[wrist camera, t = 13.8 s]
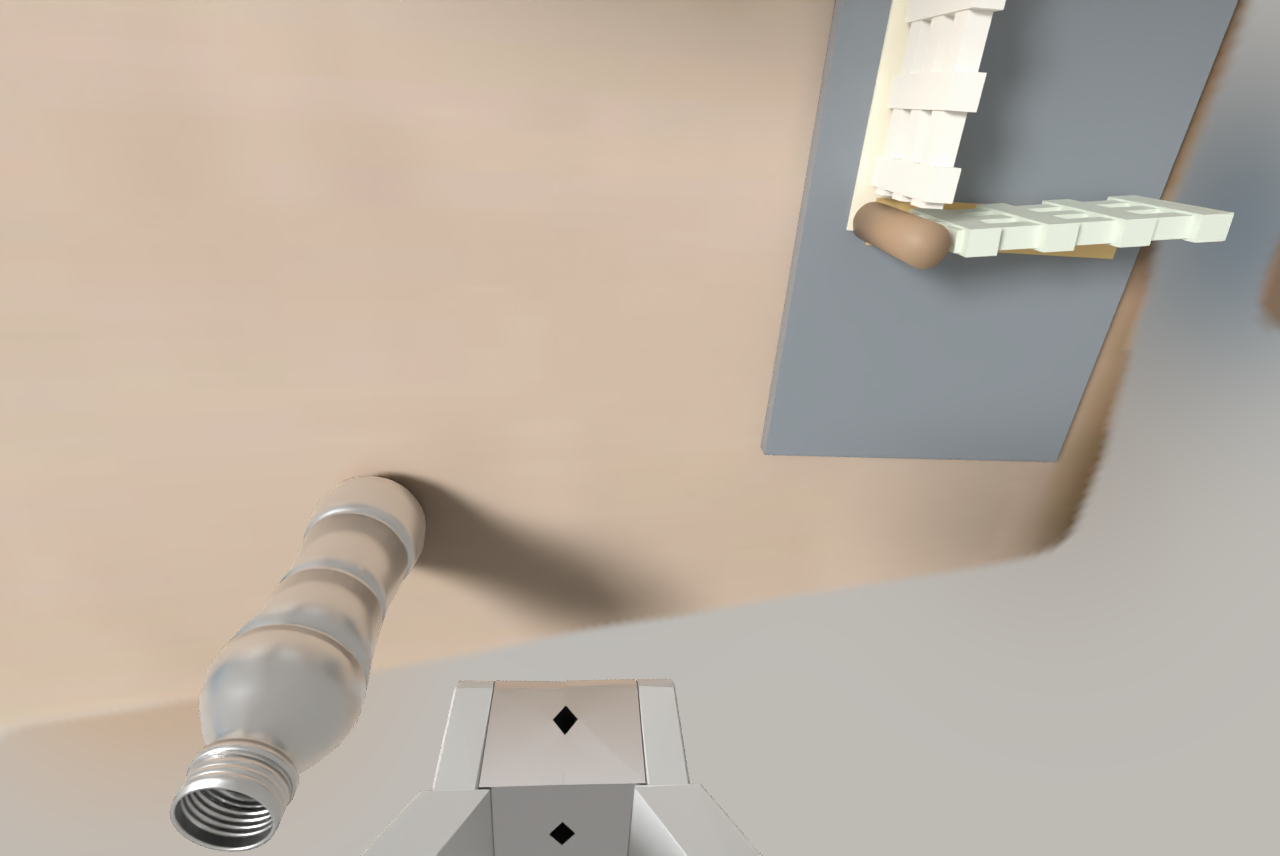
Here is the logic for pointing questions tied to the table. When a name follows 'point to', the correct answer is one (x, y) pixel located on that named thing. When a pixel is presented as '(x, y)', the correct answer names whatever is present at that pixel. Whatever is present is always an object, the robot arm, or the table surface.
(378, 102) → the table surface
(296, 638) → the plastic bottle
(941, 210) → the fence hinged
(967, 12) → the fence fixed
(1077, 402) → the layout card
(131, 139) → the table surface
